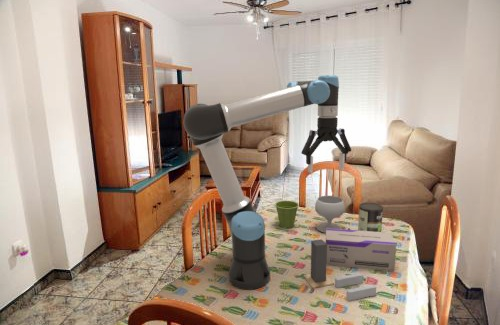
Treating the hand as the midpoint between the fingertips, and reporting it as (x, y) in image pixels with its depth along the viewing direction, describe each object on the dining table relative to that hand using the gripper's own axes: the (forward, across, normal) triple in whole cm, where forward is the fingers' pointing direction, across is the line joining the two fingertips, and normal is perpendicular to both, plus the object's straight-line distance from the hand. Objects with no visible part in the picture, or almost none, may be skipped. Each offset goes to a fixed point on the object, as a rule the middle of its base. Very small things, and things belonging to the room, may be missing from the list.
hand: (326, 170), depth 132 cm
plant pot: (+35, -5, +30) cm, 46 cm away
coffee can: (+35, +27, +8) cm, 45 cm away
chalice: (+35, +13, +20) cm, 42 cm away
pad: (+35, -12, -19) cm, 41 cm away
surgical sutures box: (+35, +9, -11) cm, 38 cm away
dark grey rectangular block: (+34, -12, -19) cm, 41 cm away
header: (+35, -3, -28) cm, 45 cm away
